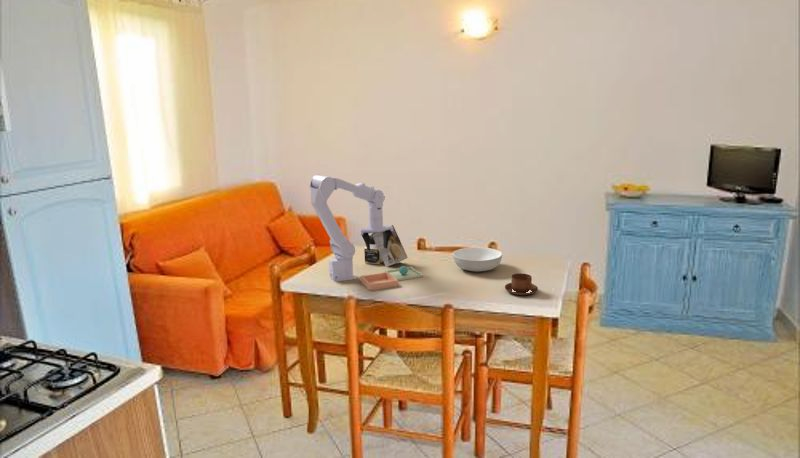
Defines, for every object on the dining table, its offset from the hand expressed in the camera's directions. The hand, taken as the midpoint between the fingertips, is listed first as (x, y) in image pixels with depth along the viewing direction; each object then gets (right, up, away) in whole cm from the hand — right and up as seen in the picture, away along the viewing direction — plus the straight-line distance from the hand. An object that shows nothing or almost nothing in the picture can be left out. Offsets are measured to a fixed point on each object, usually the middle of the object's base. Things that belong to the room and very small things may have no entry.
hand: (376, 248), depth 234 cm
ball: (+11, -10, -6) cm, 17 cm away
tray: (+11, -11, -6) cm, 17 cm away
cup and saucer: (+55, -15, -27) cm, 64 cm away
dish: (+1, -14, -16) cm, 21 cm away
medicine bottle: (-2, -6, +14) cm, 16 cm away
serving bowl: (+43, -9, +1) cm, 44 cm away
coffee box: (+9, -6, +7) cm, 13 cm away
